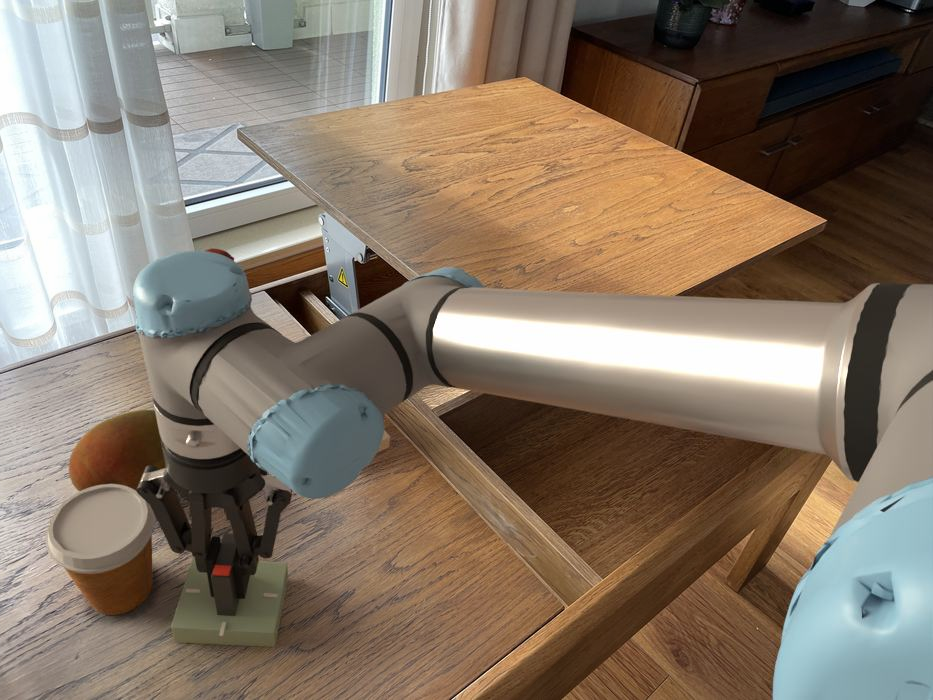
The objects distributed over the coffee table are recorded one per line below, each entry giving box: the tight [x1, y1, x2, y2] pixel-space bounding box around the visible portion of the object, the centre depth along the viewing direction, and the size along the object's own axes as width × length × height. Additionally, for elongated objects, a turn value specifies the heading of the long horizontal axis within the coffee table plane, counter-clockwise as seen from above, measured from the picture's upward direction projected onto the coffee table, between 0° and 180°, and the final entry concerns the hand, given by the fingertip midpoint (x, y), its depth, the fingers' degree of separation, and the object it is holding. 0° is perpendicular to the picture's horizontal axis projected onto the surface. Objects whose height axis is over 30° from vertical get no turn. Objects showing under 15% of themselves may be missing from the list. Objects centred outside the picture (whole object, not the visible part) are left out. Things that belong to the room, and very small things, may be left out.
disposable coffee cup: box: [45, 484, 156, 616], centre depth 72 cm, size 10×10×12 cm
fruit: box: [68, 409, 166, 492], centre depth 83 cm, size 12×12×10 cm
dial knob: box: [211, 532, 239, 616], centre depth 71 cm, size 5×2×7 cm, turn 1°
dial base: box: [170, 556, 289, 648], centre depth 75 cm, size 10×9×3 cm
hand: (230, 585), depth 73 cm, fingers closed on dial knob, 2 cm apart
